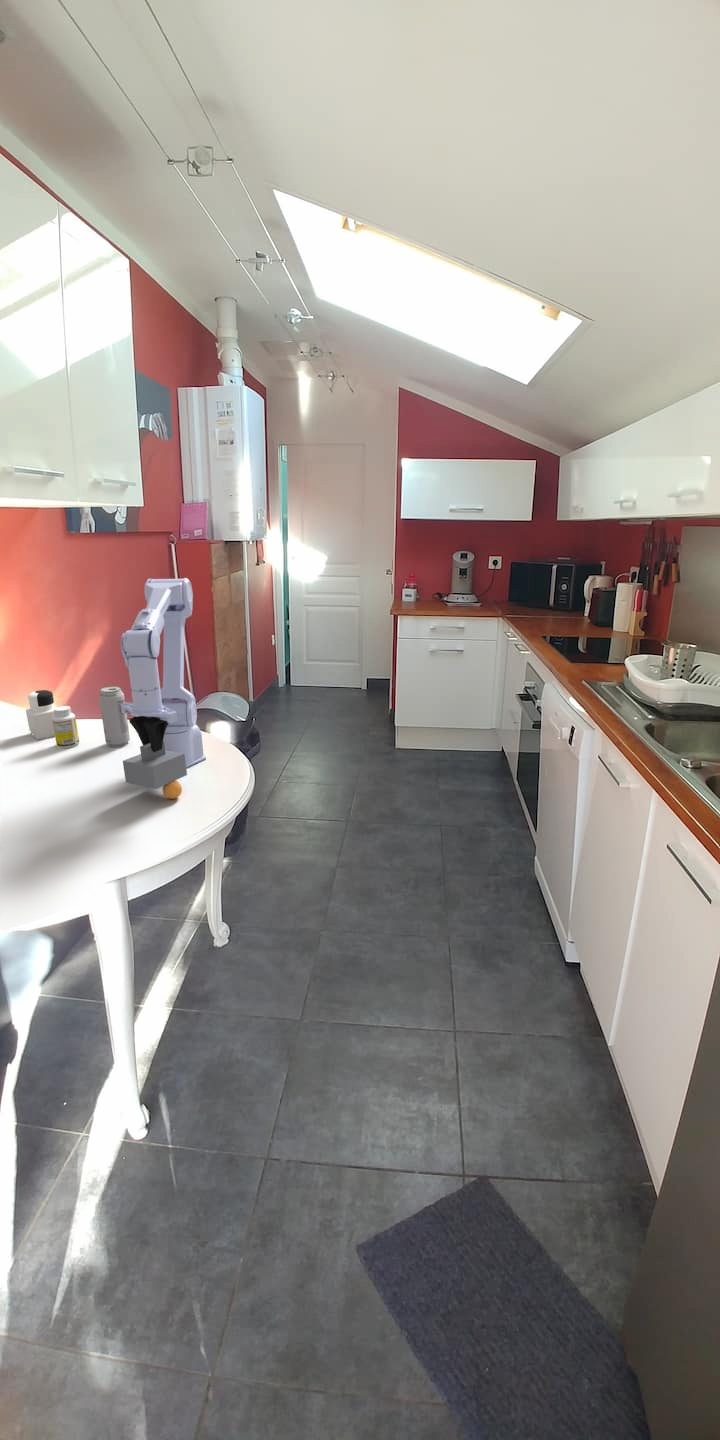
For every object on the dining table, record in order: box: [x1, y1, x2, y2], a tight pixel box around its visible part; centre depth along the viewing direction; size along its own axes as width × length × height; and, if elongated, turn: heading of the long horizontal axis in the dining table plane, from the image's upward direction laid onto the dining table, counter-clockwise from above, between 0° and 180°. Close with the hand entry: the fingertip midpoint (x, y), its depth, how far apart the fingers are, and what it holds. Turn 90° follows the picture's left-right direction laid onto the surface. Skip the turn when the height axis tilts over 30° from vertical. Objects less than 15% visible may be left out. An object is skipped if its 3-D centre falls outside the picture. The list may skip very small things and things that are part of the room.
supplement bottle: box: [52, 705, 80, 749], centre depth 175 cm, size 6×6×10 cm
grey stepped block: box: [122, 741, 188, 790], centre depth 144 cm, size 9×9×8 cm
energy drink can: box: [98, 685, 131, 748], centre depth 174 cm, size 6×6×15 cm
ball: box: [162, 780, 183, 800], centre depth 144 cm, size 4×4×4 cm
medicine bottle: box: [25, 689, 57, 740], centre depth 183 cm, size 7×7×12 cm
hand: (153, 749), depth 143 cm, fingers closed on grey stepped block
